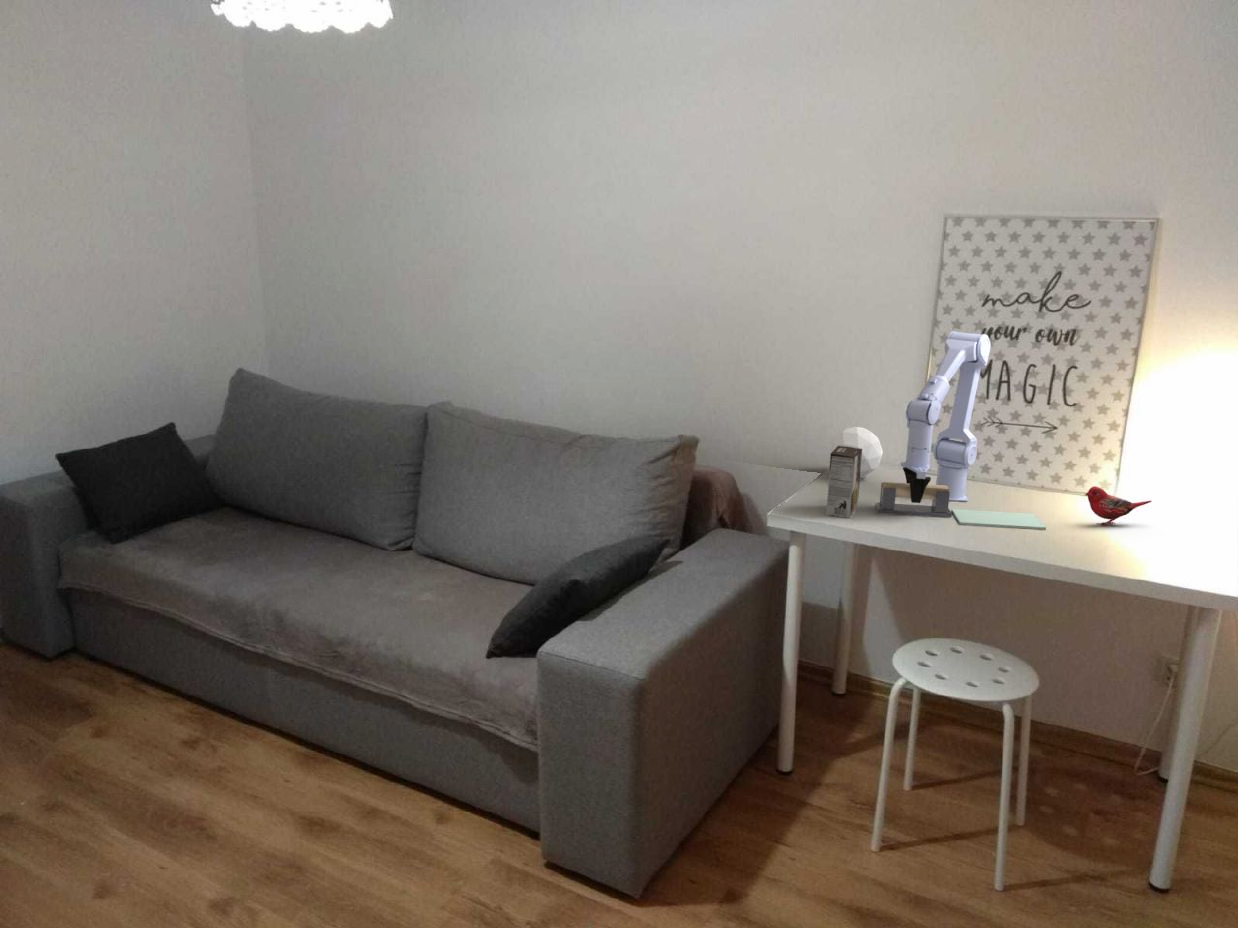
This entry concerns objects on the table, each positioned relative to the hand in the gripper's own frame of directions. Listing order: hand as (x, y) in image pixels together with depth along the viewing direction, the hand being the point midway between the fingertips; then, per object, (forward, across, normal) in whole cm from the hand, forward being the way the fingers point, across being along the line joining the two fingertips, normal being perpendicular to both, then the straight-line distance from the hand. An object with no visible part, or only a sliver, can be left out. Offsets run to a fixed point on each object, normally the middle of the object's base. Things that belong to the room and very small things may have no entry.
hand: (913, 498), depth 240 cm
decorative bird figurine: (+4, +1, +48) cm, 48 cm away
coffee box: (+4, +4, -18) cm, 19 cm away
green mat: (+3, +3, +20) cm, 21 cm away
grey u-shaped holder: (+3, 0, 0) cm, 3 cm away
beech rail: (-1, 0, 0) cm, 1 cm away
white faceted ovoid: (+3, -30, -11) cm, 32 cm away
